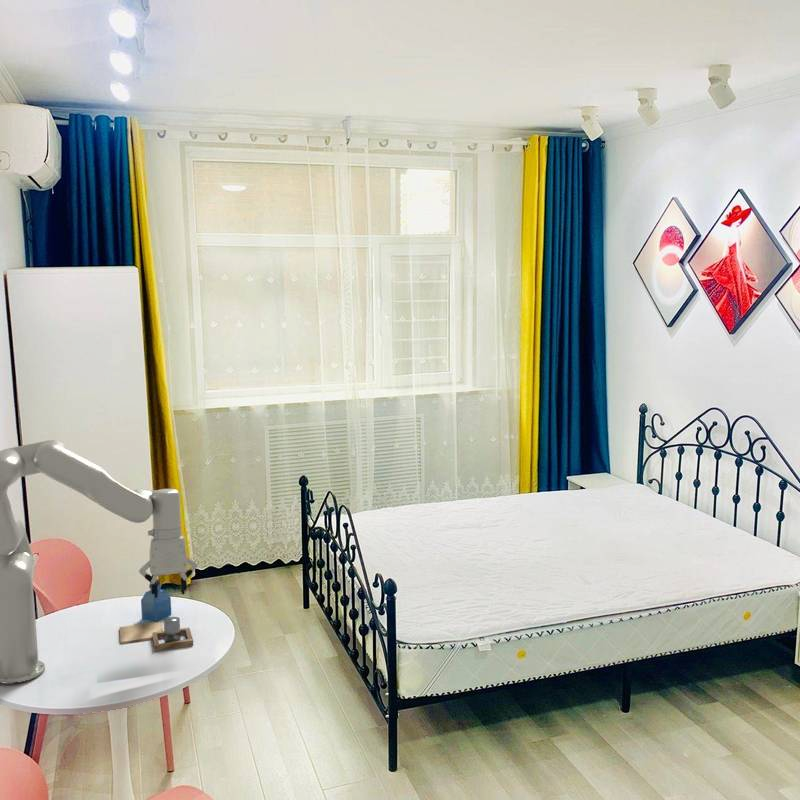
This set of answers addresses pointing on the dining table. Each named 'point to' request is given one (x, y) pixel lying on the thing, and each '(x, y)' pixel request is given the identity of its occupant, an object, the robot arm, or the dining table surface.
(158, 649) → the collar
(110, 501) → the robot arm
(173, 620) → the peg
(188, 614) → the dining table surface
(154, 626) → the mat
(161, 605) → the perfume bottle
